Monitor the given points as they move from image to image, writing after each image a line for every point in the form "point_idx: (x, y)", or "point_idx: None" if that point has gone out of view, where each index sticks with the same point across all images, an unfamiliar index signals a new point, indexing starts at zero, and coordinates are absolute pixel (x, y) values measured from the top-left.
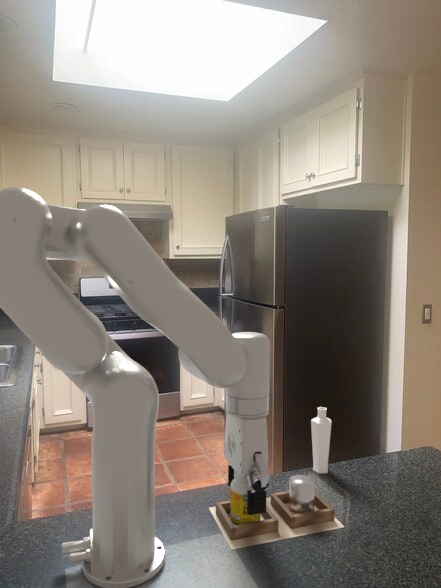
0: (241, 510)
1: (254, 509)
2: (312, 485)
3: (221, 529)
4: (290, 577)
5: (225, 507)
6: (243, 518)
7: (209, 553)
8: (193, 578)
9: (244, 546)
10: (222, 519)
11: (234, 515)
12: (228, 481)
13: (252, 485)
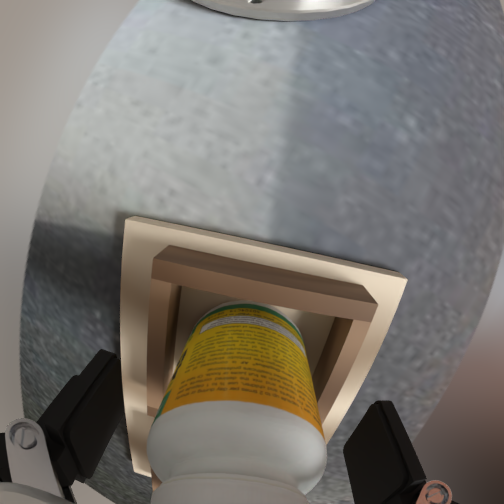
0: (187, 355)
1: (73, 376)
2: None
3: (251, 249)
4: (32, 301)
5: (342, 328)
6: (189, 340)
7: (177, 152)
8: (106, 69)
9: (123, 268)
10: (276, 276)
11: (228, 322)
12: (393, 414)
13: (8, 452)
